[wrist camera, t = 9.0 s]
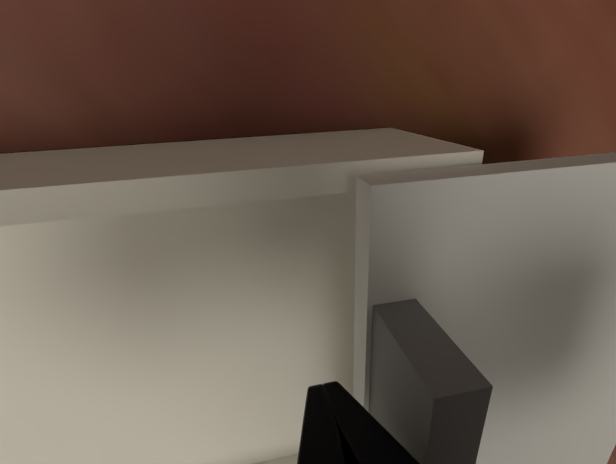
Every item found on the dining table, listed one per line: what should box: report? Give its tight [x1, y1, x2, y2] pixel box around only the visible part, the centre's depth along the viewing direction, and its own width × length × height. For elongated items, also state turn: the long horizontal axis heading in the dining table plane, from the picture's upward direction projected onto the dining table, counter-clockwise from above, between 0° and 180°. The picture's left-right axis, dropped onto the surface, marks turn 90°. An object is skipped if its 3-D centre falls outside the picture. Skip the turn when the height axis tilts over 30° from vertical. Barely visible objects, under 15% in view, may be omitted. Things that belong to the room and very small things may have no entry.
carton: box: [0, 128, 484, 464], centre depth 14 cm, size 19×22×6 cm
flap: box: [353, 152, 616, 464], centre depth 11 cm, size 18×11×4 cm, turn 2°
